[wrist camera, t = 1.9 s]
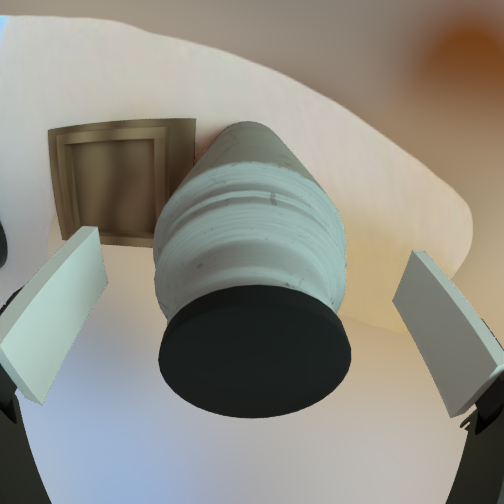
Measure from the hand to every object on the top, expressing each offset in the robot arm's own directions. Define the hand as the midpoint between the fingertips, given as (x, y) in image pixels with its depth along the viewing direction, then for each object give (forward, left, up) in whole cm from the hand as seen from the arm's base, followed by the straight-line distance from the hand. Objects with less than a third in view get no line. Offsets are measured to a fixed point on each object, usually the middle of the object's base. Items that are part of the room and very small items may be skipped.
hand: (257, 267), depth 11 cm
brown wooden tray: (-16, -4, -23) cm, 28 cm away
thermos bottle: (0, 0, -23) cm, 23 cm away
